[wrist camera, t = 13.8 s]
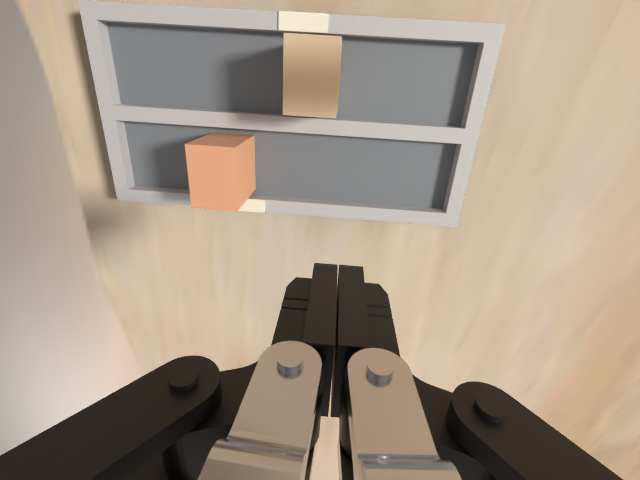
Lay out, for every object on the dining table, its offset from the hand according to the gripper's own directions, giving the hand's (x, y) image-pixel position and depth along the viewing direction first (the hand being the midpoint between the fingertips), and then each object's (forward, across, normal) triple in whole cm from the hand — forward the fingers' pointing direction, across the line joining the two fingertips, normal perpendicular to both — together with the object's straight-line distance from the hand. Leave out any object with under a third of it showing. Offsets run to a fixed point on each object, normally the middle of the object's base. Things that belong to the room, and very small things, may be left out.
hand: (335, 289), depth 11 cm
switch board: (+18, +4, -3) cm, 18 cm away
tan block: (+16, +2, -6) cm, 17 cm away
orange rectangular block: (+16, +8, 0) cm, 18 cm away
